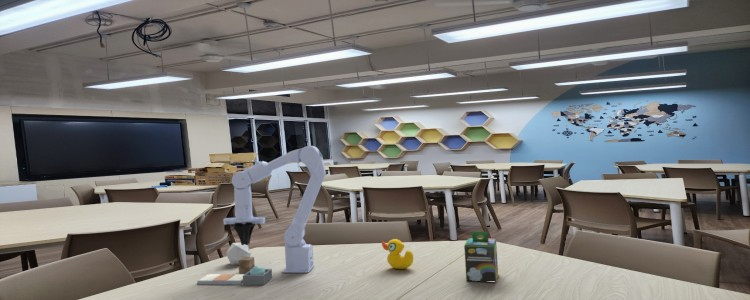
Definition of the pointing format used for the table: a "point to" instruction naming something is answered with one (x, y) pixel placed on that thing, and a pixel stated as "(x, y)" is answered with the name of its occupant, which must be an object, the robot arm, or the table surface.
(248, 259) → the brown wooden block
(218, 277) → the game board
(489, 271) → the chalk box
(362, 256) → the table surface
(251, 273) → the dome
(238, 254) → the die
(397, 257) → the duckling
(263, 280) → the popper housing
